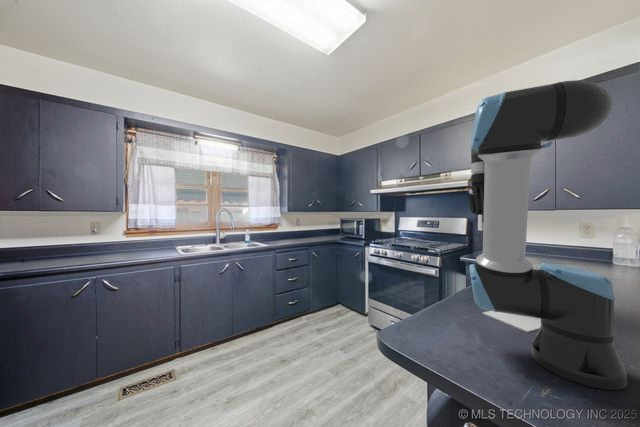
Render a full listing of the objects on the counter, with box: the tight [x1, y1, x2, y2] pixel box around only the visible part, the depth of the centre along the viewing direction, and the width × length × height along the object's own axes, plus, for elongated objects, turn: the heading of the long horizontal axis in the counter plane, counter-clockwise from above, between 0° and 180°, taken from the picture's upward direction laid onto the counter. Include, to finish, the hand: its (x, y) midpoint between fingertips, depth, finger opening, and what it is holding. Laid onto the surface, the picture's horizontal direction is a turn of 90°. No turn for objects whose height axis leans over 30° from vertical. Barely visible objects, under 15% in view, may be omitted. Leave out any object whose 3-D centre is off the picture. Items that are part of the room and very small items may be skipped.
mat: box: [482, 310, 541, 333], centre depth 82 cm, size 20×14×1 cm
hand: (482, 230), depth 98 cm, fingers closed
